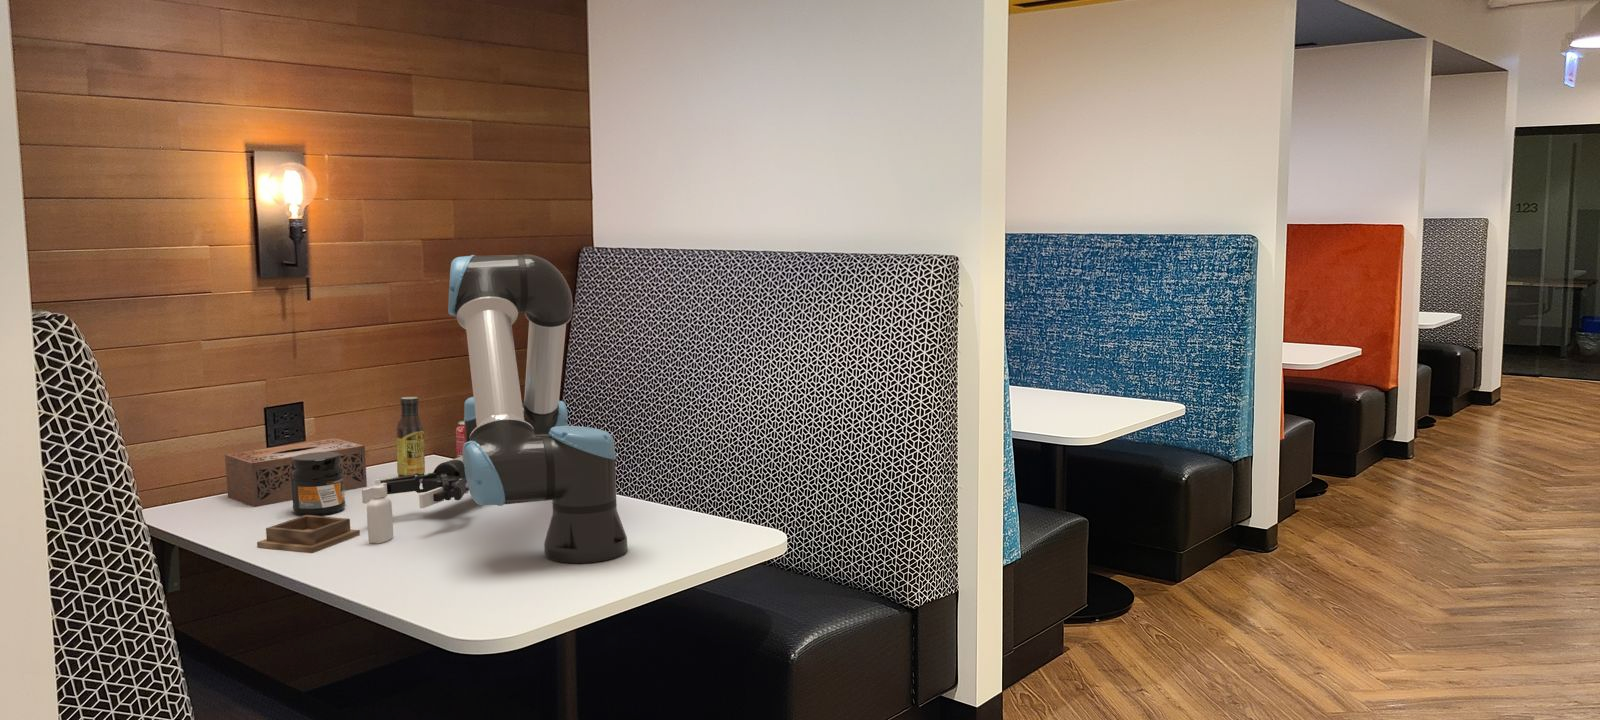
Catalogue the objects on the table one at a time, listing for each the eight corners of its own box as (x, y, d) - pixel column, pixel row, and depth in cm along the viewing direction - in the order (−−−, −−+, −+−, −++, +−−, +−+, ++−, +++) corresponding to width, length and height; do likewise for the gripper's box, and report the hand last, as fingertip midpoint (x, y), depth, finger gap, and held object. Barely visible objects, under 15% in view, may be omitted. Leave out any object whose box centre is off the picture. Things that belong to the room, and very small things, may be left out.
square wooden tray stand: (359, 535, 231) (358, 517, 231) (312, 552, 219) (311, 534, 219) (306, 530, 236) (305, 513, 235) (257, 547, 223) (256, 529, 223)
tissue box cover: (254, 508, 256) (251, 463, 254) (227, 498, 265) (224, 454, 264) (367, 487, 274) (364, 445, 273) (338, 479, 284) (336, 438, 283)
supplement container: (334, 517, 246) (331, 460, 245) (284, 517, 246) (280, 461, 245) (353, 504, 257) (350, 450, 255) (305, 505, 257) (301, 451, 255)
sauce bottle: (409, 484, 276) (405, 400, 274) (392, 481, 279) (387, 398, 277) (431, 478, 282) (427, 396, 279) (414, 476, 285) (410, 395, 283)
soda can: (491, 466, 295) (489, 419, 293) (480, 472, 288) (478, 424, 286) (463, 466, 295) (461, 419, 294) (452, 472, 288) (450, 424, 287)
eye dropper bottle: (361, 541, 227) (358, 480, 225) (388, 535, 231) (385, 475, 230) (373, 545, 224) (369, 483, 223) (400, 539, 228) (397, 478, 227)
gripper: (508, 497, 247) (446, 522, 227) (409, 489, 255) (341, 513, 236) (507, 462, 246) (444, 484, 226) (407, 455, 255) (339, 476, 235)
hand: (392, 499), depth 231 cm, fingers open, 13 cm apart
